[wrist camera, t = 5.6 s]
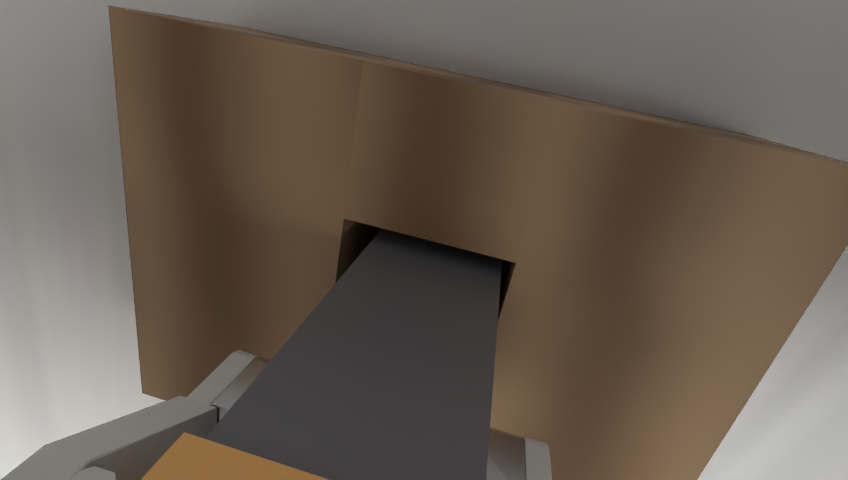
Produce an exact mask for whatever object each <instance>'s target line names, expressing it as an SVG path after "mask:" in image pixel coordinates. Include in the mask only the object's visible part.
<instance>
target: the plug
mask: <svg viewBox="0 0 848 480" xmlns="http://www.w3.org/2000/svg"><path fill="white" fill-rule="evenodd" d="M501 269H502V259H499V258H495V257H491V256H487V255H483V254H480V253H476V252H472V251H468V250H464V249H460V248H456V247H452V246H449V245H445V244H441V243H437V242H433V241H429V240H425V239H422V238H418V237H414V236H410V235H406V234H402V233H398V232H394V231H391V230H387V229H383V228H382V229H381V230H380V231H379V233H378V234H377V235H376V236H375V237H374V239H373V240H372V241H371V242H370V243H369V244H368V246H367V247H366V248H365V249H364V250H363V252H362V253H361V254H360V255H359V256H358V258H357V259H356V260H355V261H354V262H353V263H352V265H351V266H350V267H349V268H348V269H347V271H346V272H345V273H344V274H343V275H342V276H341V278H340V279H339V280H338V281H337V282H336V284H335V285H334V286H333V287H332V288H331V290H330V291H329V292H328V293H327V294H326V295H325V297H324V298H323V299H322V300H321V301H320V303H319V304H318V305H317V306H316V307H315V309H314V310H313V311H312V312H311V313H310V314H309V316H308V317H307V318H306V319H305V320H304V322H303V323H302V324H301V325H300V326H299V327H298V329H297V330H296V331H295V332H294V333H293V335H292V336H291V337H290V338H289V339H288V341H287V342H286V343H285V344H284V345H283V346H282V348H281V349H280V350H279V351H278V352H277V354H276V355H275V356H274V357H273V358H272V360H271V361H270V362H269V363H268V364H267V365H266V367H265V368H264V369H263V370H262V371H261V373H260V374H259V375H258V376H257V377H256V378H255V380H254V381H253V382H252V383H251V384H250V386H249V387H248V388H247V389H246V390H245V392H244V393H243V394H242V395H241V396H240V397H239V399H238V400H237V401H236V402H235V403H234V405H233V406H232V407H231V408H230V409H229V410H228V412H227V413H226V414H225V415H224V416H223V418H222V419H221V420H220V421H219V422H218V424H217V425H216V426H215V427H214V428H213V429H212V431H211V432H210V433H209V434H208V435H207V437H206V438H205V439H204V438H201V437H198V436H195V435H192V434H189V433H186V432H184V433H183V434H182V435H181V436H180V437H179V438H178V439H177V441H176V442H175V443H174V444H173V445H172V446H171V447H170V448H169V449H168V450H167V451H166V453H165V454H164V455H163V456H162V457H161V458H160V459H159V460H158V461H157V462H156V463H155V465H154V466H153V467H152V468H151V469H150V470H149V471H148V472H147V473H146V474H145V476H144V477H143V478H142V479H141V480H486V474H487V461H488V447H489V433H490V420H491V406H492V392H493V379H494V365H495V351H496V338H497V324H498V310H499V297H500V283H501Z"/></svg>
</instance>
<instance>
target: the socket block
mask: <svg viewBox="0 0 848 480" xmlns="http://www.w3.org/2000/svg"><path fill="white" fill-rule="evenodd" d="M109 17H110V29H111V40H112V52H113V63H114V74H115V86H116V97H117V109H118V120H119V132H120V143H121V154H122V166H123V177H124V189H125V200H126V212H127V223H128V234H129V246H130V257H131V269H132V280H133V292H134V303H135V314H136V326H137V337H138V349H139V360H140V372H141V383H142V393H144V394H147V395H150V396H153V397H157V398H160V399H163V400H166V401H167V400H170V399H172V398H175V397H178V396H183V397H188V396H189V395H190V394H191V393H192V392H193V391H194V390H195V389H196V388H197V387H198V386H199V385H200V384H201V383H202V382H203V381H204V380H205V379H206V378H207V377H208V376H209V375H210V374H211V373H212V372H213V371H214V370H215V369H216V368H217V367H218V366H219V365H220V364H221V363H222V362H223V361H224V360H225V359H226V358H227V357H228V356H229V355H230V354H231V353H233V352H235V351H237V350H241V351H244V352H247V353H250V354H253V355H255V356H260V357H263V358H266V359H269V360H272V358H273V357H274V356H275V355H276V354H277V352H278V351H279V350H280V349H281V348H282V346H283V345H284V344H285V343H286V342H287V341H288V339H289V338H290V337H291V336H292V335H293V333H294V332H295V331H296V330H297V329H298V327H299V326H300V325H301V324H302V323H303V322H304V320H305V319H306V318H307V317H308V316H309V314H310V313H311V312H312V311H313V310H314V309H315V307H316V306H317V305H318V304H319V303H320V301H321V300H322V299H323V298H324V297H325V295H326V294H327V293H328V292H329V291H330V290H331V288H332V287H333V286H334V285H335V284H336V282H337V281H338V280H339V279H340V278H341V276H342V275H343V274H344V273H345V272H346V271H347V269H348V268H349V267H350V266H351V265H352V263H353V262H354V261H355V260H356V259H357V258H358V256H359V255H360V254H361V253H362V252H363V250H364V249H365V248H366V247H367V246H368V244H369V243H370V242H371V241H372V240H373V239H374V237H375V236H376V235H377V234H378V233H379V231H380V230H381V229H382V228H383V229H387V230H391V231H394V232H398V233H402V234H406V235H410V236H414V237H418V238H422V239H425V240H429V241H433V242H437V243H441V244H445V245H449V246H452V247H456V248H460V249H464V250H468V251H472V252H476V253H480V254H483V255H487V256H491V257H495V258H499V259H502V269H501V283H500V297H499V310H498V324H497V338H496V351H495V365H494V379H493V392H492V406H491V420H490V427H492V428H495V429H499V430H502V431H506V432H509V433H512V434H516V435H519V436H522V437H527V438H530V439H534V440H537V441H540V442H544V443H547V445H548V446H549V451H550V462H551V473H552V480H697V479H698V477H699V476H700V474H701V473H702V471H703V470H704V468H705V466H706V465H707V463H708V462H709V460H710V459H711V457H712V455H713V454H714V452H715V451H716V449H717V448H718V446H719V445H720V443H721V441H722V440H723V438H724V437H725V435H726V434H727V432H728V431H729V429H730V427H731V426H732V424H733V423H734V421H735V420H736V418H737V416H738V415H739V413H740V412H741V410H742V409H743V407H744V406H745V404H746V402H747V401H748V399H749V398H750V396H751V395H752V393H753V392H754V390H755V388H756V387H757V385H758V384H759V382H760V381H761V379H762V378H763V376H764V374H765V373H766V371H767V370H768V368H769V367H770V365H771V363H772V362H773V360H774V359H775V357H776V356H777V354H778V353H779V351H780V349H781V348H782V346H783V345H784V343H785V342H786V340H787V339H788V337H789V335H790V334H791V332H792V331H793V329H794V328H795V326H796V324H797V323H798V321H799V320H800V318H801V317H802V315H803V314H804V312H805V310H806V309H807V307H808V306H809V304H810V303H811V301H812V300H813V298H814V296H815V295H816V293H817V292H818V290H819V289H820V287H821V285H822V284H823V282H824V281H825V279H826V278H827V276H828V275H829V273H830V271H831V270H832V268H833V267H834V265H835V264H836V262H837V261H838V259H839V257H840V256H841V254H842V253H843V251H844V250H845V248H846V246H847V245H848V163H847V162H843V161H840V160H836V159H832V158H829V157H825V156H822V155H818V154H815V153H811V152H807V151H804V150H800V149H797V148H793V147H789V146H786V145H782V144H779V143H775V142H771V141H768V140H764V139H761V138H757V137H752V136H748V135H743V134H738V133H734V132H729V131H724V130H720V129H715V128H710V127H706V126H701V125H696V124H692V123H687V122H682V121H678V120H673V119H668V118H664V117H659V116H654V115H650V114H645V113H640V112H636V111H631V110H626V109H622V108H617V107H612V106H608V105H603V104H598V103H594V102H589V101H584V100H580V99H575V98H570V97H566V96H561V95H556V94H552V93H547V92H542V91H538V90H533V89H528V88H524V87H519V86H514V85H510V84H505V83H500V82H496V81H491V80H486V79H482V78H477V77H472V76H468V75H463V74H458V73H454V72H449V71H444V70H440V69H435V68H430V67H426V66H421V65H416V64H412V63H407V62H402V61H398V60H393V59H388V58H384V57H379V56H374V55H370V54H365V53H360V52H356V51H351V50H346V49H342V48H337V47H332V46H328V45H323V44H318V43H314V42H309V41H304V40H300V39H295V38H290V37H286V36H281V35H276V34H272V33H267V32H262V31H258V30H253V29H248V28H244V27H239V26H233V25H227V24H221V23H214V22H208V21H202V20H196V19H189V18H183V17H177V16H170V15H164V14H158V13H151V12H145V11H139V10H132V9H126V8H120V7H114V6H109Z"/></svg>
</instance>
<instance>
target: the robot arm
mask: <svg viewBox="0 0 848 480" xmlns="http://www.w3.org/2000/svg"><path fill="white" fill-rule="evenodd" d="M270 361H271V360H269V359H266V358H263V357H260V356H255V355H253V354H250V353H247V352H244V351H241V350H237V351H235V352H233V353H231V354H230V355H229V356H228V357H227V358H226V359H225V360H224V361H223V362H222V363H221V364H220V365H219V366H218V367H217V368H216V369H215V370H214V371H213V372H212V373H211V374H210V375H209V376H208V377H207V378H206V379H205V380H204V381H203V382H202V383H201V384H200V385H199V386H198V387H197V388H196V389H195V390H194V391H193V392H192V393H191V394H190V395H189V396H188V397H183V396H178V397H175V398H172V399H170V400H167V401H164V402H161V403H159V404H156V405H153V406H151V407H148V408H145V409H142V410H140V411H137V412H134V413H131V414H129V415H126V416H123V417H121V418H118V419H115V420H112V421H110V422H107V423H104V424H101V425H99V426H96V427H93V428H91V429H88V430H85V431H82V432H80V433H77V434H74V435H71V436H69V437H66V438H63V439H61V440H58V441H55V442H52V443H50V444H47V445H44V446H43V447H42V448H40V449H39V450H38V451H37V452H35V453H34V454H33V455H32V456H30V457H29V458H28V459H27V460H25V461H24V462H23V463H21V464H20V465H19V466H18V467H16V468H15V469H14V470H13V471H11V472H10V473H9V474H8V475H6V476H5V477H4V478H2V479H1V480H141V479H142V478H143V477H144V476H145V474H146V473H147V472H148V471H149V470H150V469H151V468H152V467H153V466H154V465H155V463H156V462H157V461H158V460H159V459H160V458H161V457H162V456H163V455H164V454H165V453H166V451H167V450H168V449H169V448H170V447H171V446H172V445H173V444H174V443H175V442H176V441H177V439H178V438H179V437H180V436H181V435H182V434H183V433H184V432H186V433H189V434H192V435H195V436H198V437H201V438H204V439H205V438H206V437H207V435H208V434H209V433H210V432H211V431H212V429H213V428H214V427H215V426H216V425H217V424H218V422H219V421H220V420H221V419H222V418H223V416H224V415H225V414H226V413H227V412H228V410H229V409H230V408H231V407H232V406H233V405H234V403H235V402H236V401H237V400H238V399H239V397H240V396H241V395H242V394H243V393H244V392H245V390H246V389H247V388H248V387H249V386H250V384H251V383H252V382H253V381H254V380H255V378H256V377H257V376H258V375H259V374H260V373H261V371H262V370H263V369H264V368H265V367H266V365H267V364H268V363H269V362H270ZM486 480H552V473H551V462H550V451H549V446H548V445H547V443H544V442H540V441H537V440H534V439H530V438H527V437H522V436H519V435H516V434H512V433H509V432H506V431H502V430H499V429H495V428H492V427H490V433H489V447H488V461H487V474H486Z"/></svg>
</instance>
